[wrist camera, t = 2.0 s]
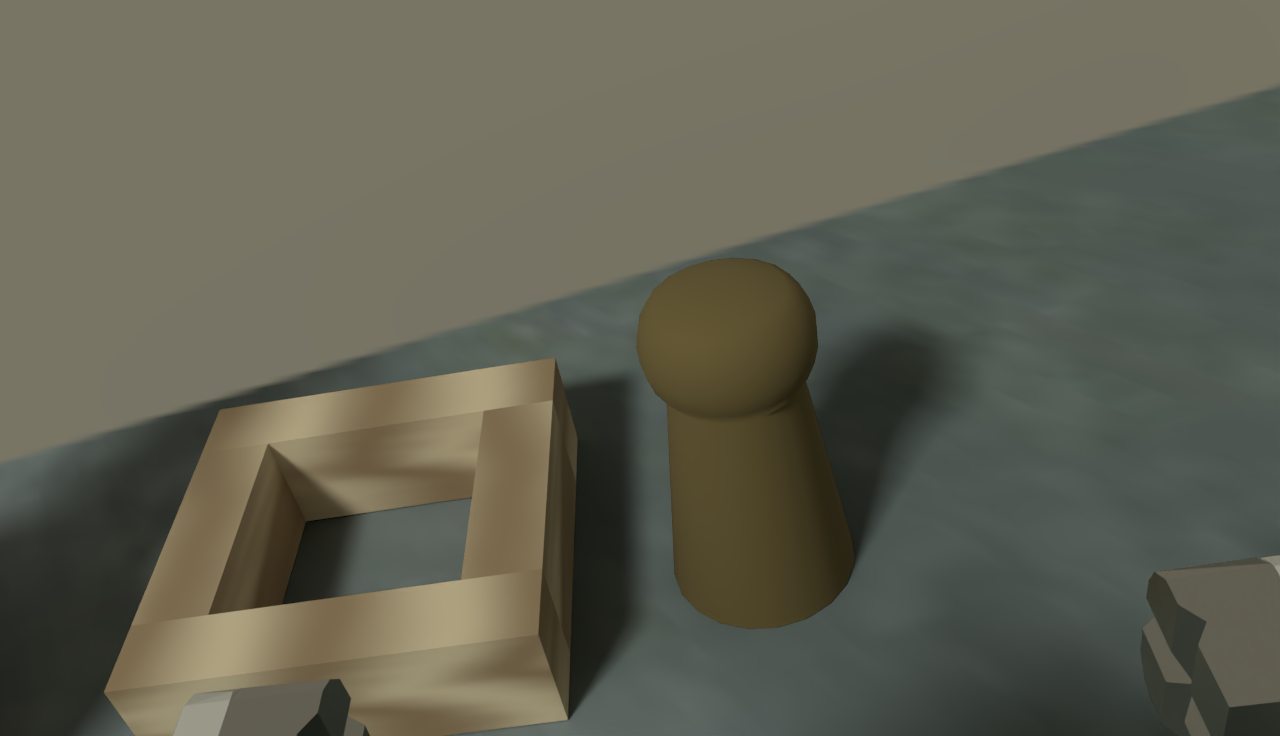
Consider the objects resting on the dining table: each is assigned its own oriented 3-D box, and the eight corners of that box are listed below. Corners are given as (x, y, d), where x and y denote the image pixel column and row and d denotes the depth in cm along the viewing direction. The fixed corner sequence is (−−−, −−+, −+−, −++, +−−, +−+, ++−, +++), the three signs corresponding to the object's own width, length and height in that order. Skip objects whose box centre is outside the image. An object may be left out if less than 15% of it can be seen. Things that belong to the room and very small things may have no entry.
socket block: (577, 438, 46) (555, 357, 44) (568, 719, 36) (537, 634, 34) (258, 485, 48) (219, 409, 45) (160, 771, 37) (103, 692, 35)
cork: (665, 511, 42) (605, 252, 36) (833, 479, 42) (804, 212, 35) (684, 644, 37) (619, 373, 31) (874, 609, 37) (849, 328, 31)
